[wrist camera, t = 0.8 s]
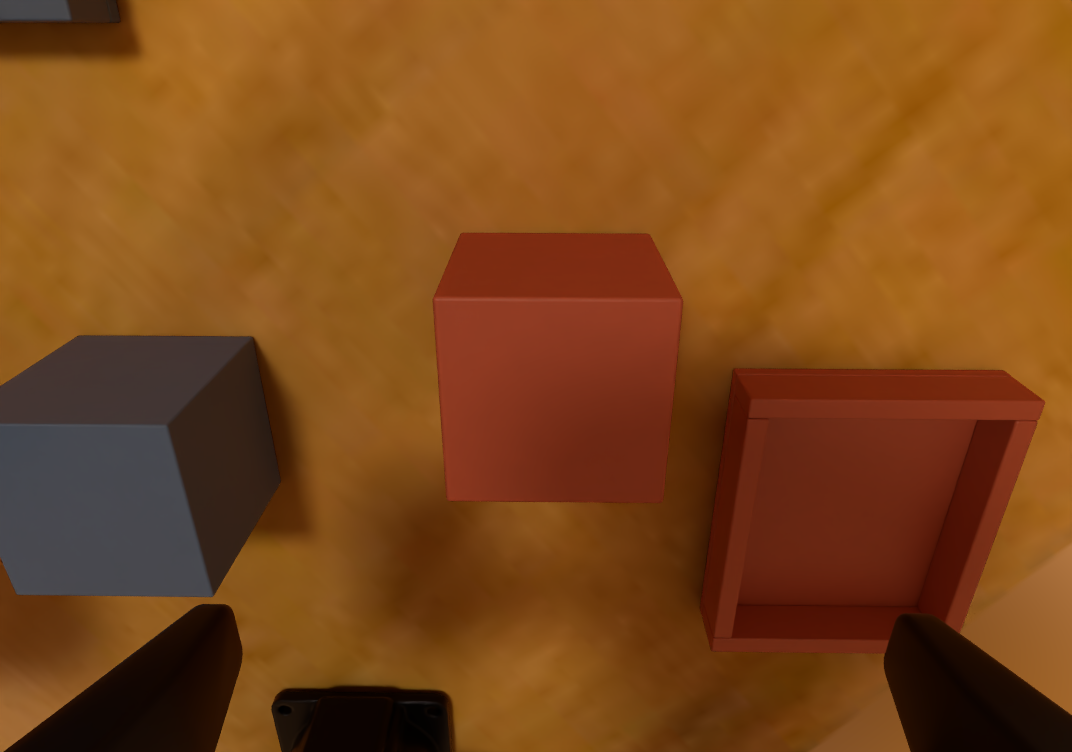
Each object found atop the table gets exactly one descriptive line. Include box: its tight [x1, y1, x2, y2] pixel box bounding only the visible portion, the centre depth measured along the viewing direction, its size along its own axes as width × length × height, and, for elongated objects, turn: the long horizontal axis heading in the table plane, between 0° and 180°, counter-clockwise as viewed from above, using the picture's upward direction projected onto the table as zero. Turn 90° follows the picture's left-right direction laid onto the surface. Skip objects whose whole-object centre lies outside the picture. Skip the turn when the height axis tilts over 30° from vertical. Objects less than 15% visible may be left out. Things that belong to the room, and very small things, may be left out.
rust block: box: [433, 233, 683, 503], centre depth 17 cm, size 5×5×5 cm
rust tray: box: [700, 369, 1045, 653], centre depth 21 cm, size 9×8×2 cm
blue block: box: [0, 336, 281, 597], centre depth 19 cm, size 5×5×5 cm
